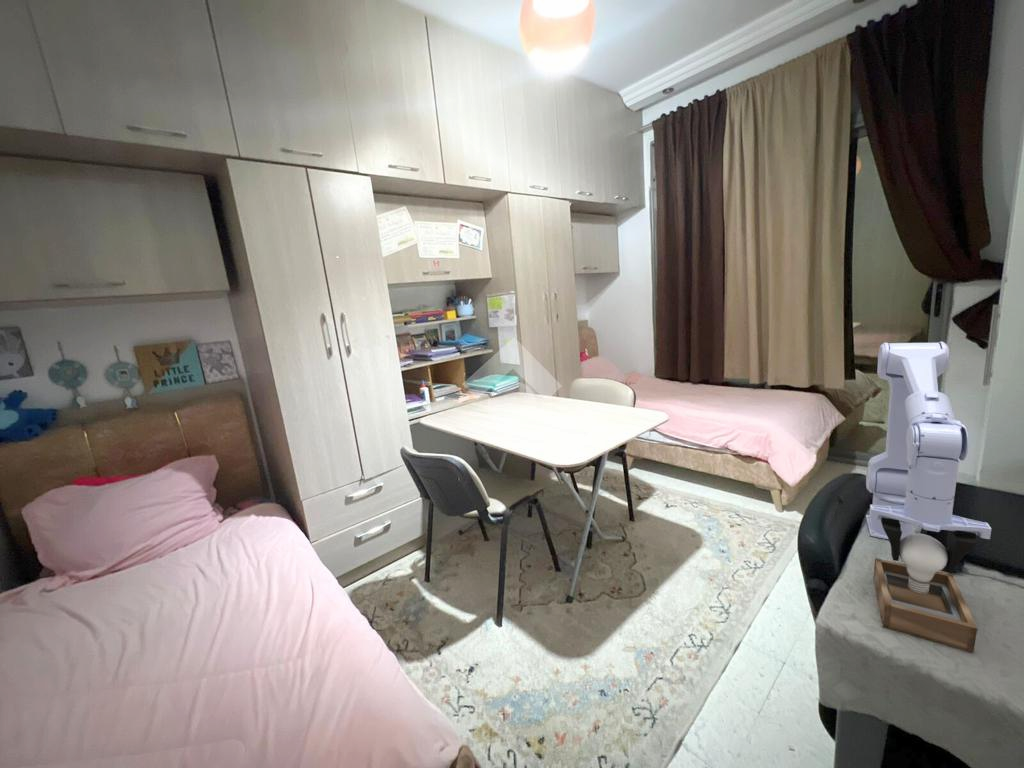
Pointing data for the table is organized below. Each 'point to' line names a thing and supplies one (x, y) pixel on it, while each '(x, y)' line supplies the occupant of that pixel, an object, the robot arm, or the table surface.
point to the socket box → (924, 607)
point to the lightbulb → (922, 559)
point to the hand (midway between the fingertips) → (920, 563)
